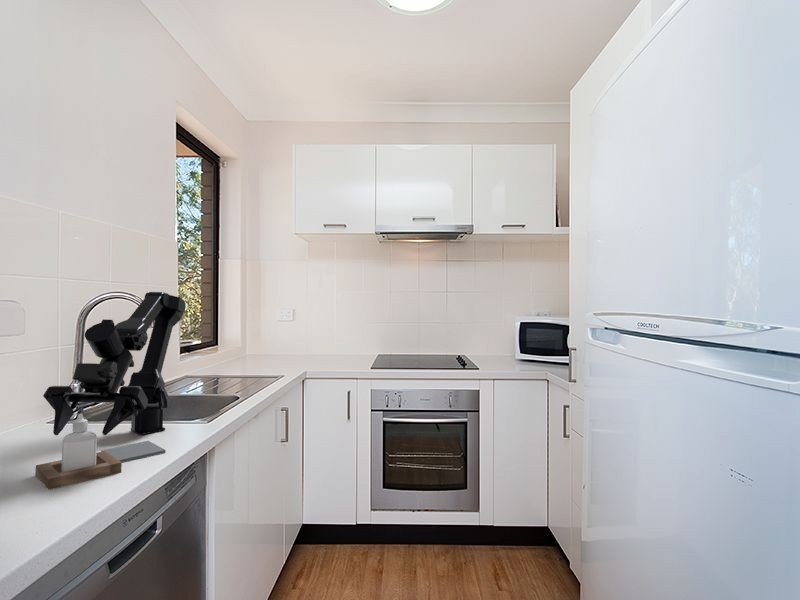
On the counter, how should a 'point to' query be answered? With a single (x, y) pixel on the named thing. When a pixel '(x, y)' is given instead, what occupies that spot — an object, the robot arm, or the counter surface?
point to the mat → (134, 451)
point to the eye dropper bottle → (79, 447)
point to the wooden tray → (77, 471)
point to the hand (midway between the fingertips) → (79, 434)
